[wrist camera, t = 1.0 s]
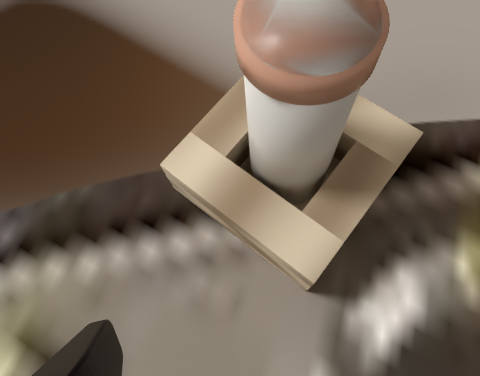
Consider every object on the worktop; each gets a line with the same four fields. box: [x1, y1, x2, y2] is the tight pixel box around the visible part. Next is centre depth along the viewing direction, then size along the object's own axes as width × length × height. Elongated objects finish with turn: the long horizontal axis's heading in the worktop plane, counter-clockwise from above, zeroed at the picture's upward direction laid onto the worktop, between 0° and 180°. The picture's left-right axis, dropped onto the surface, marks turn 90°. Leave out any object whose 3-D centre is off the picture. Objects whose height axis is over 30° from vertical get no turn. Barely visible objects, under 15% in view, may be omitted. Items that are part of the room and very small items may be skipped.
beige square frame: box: [160, 75, 423, 291], centre depth 22 cm, size 10×10×4 cm
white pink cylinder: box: [233, 0, 390, 205], centre depth 17 cm, size 5×5×12 cm
